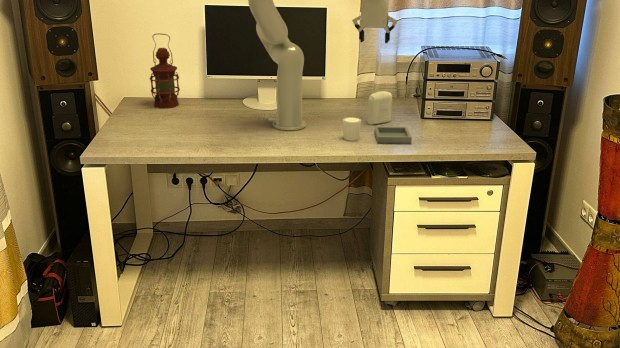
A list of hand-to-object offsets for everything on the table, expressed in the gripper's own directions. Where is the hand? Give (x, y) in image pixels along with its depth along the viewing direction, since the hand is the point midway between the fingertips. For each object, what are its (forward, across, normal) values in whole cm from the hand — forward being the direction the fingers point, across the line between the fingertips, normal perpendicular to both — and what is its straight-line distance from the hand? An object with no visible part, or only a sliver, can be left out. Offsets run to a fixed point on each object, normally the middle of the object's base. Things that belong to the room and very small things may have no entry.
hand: (374, 42), depth 244 cm
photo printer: (+31, +4, -5) cm, 31 cm away
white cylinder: (+30, -1, -28) cm, 41 cm away
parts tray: (+30, +13, -23) cm, 40 cm away
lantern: (+28, -86, -15) cm, 92 cm away
